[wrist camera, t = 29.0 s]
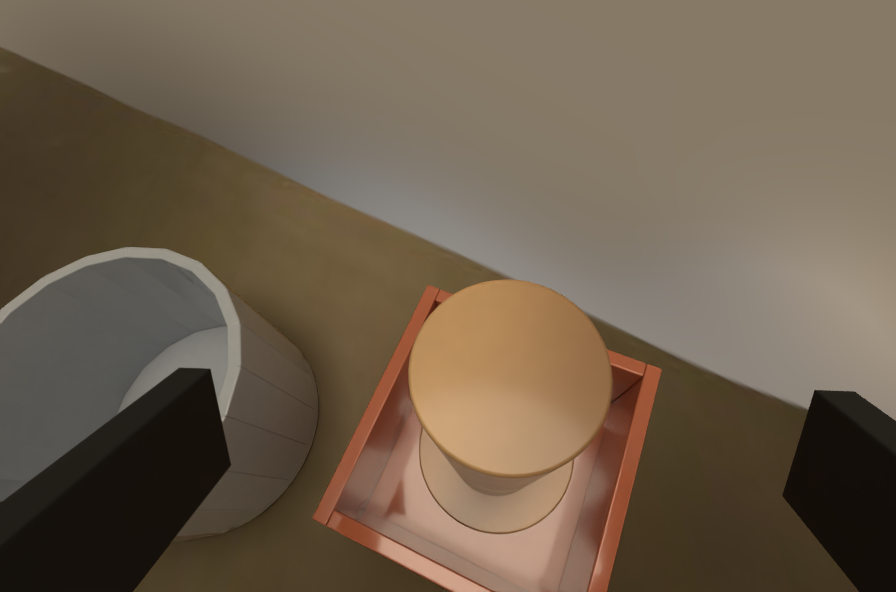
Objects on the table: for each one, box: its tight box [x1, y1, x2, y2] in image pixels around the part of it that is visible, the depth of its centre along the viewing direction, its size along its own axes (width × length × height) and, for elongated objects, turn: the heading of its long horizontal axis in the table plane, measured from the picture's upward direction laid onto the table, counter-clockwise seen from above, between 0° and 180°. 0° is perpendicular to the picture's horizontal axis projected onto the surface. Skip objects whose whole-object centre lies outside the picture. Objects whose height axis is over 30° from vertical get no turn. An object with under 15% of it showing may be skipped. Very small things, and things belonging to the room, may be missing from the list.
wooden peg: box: [408, 279, 613, 534], centre depth 15 cm, size 6×6×15 cm
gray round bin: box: [0, 247, 319, 543], centre depth 20 cm, size 11×11×8 cm
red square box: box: [313, 285, 662, 592], centre depth 20 cm, size 10×10×6 cm
